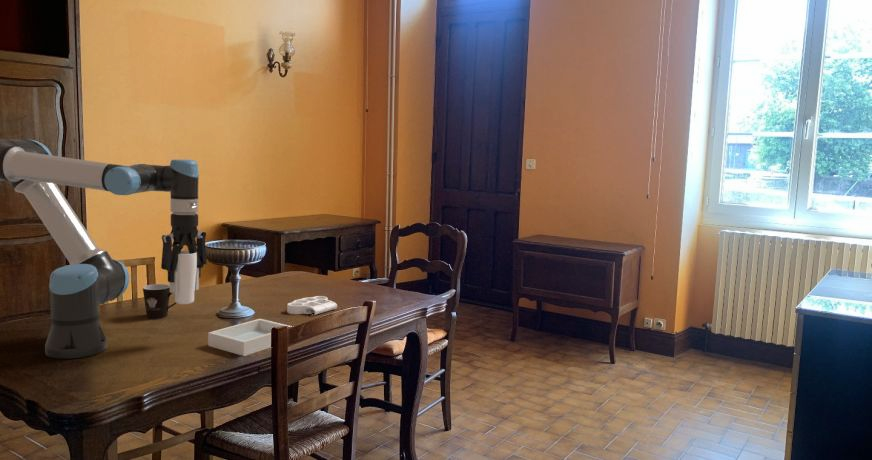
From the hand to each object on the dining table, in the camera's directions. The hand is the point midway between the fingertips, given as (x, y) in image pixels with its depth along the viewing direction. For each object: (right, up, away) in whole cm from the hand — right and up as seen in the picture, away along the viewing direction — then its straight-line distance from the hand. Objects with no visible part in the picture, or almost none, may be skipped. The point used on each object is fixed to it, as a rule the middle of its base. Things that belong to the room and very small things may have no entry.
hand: (184, 290), depth 197 cm
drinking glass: (0, -4, +1) cm, 4 cm away
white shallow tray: (+19, -16, +3) cm, 25 cm away
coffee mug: (-18, -11, +27) cm, 35 cm away
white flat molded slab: (+29, -11, +44) cm, 54 cm away
